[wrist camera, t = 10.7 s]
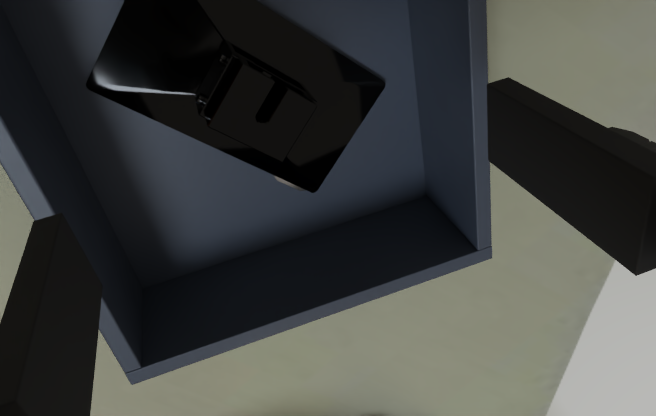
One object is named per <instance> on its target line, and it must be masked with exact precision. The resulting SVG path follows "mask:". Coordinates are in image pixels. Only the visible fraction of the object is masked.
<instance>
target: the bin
mask: <svg viewBox="0 0 656 416" xmlns="http://www.w3.org/2000/svg"><path fill="white" fill-rule="evenodd" d="M257 1H259V2H260V3H262V4H263V5H265V6H267V7H268V8H270V9H271V10H273V11H274V12H276V13H278V14H279V15H281V16H282V17H284V18H285V19H287V20H289V21H290V22H292V23H293V24H295V25H296V26H298V27H300V28H301V29H303V30H304V31H306V32H307V33H309V34H311V35H312V36H314V37H315V38H317V39H318V40H320V41H322V42H323V43H325V44H326V45H328V46H329V47H331V48H333V49H334V50H336V51H337V52H339V53H340V54H342V55H344V56H345V57H347V58H348V59H350V60H351V61H353V62H355V63H356V64H358V65H359V66H361V67H362V68H364V69H366V70H367V71H369V72H370V73H372V74H373V75H375V76H377V77H378V78H380V79H381V80H383V81H384V82H385V88H384V90H383V91H382V93H381V94H380V96H379V97H378V99H377V100H376V102H375V103H374V105H373V106H372V108H371V109H370V111H369V113H368V114H367V116H366V117H365V119H364V120H363V122H362V123H361V125H360V126H359V128H358V129H357V131H356V132H355V134H354V135H353V137H352V139H351V140H350V142H349V143H348V145H347V146H346V148H345V149H344V151H343V152H342V154H341V155H340V157H339V158H338V160H337V161H336V163H335V164H334V166H333V168H332V169H331V171H330V172H329V174H328V175H327V177H326V178H325V180H324V181H323V183H322V184H321V186H320V187H319V189H318V190H317V192H315V193H311V192H309V191H299V190H297V189H295V188H292V187H290V186H288V185H286V184H284V183H281V182H279V181H277V180H276V178H275V177H274V175H272V174H270V173H268V172H265V171H263V170H261V169H259V168H257V167H255V166H252V165H250V164H248V163H246V162H244V161H242V160H239V159H237V158H235V157H233V156H231V155H229V154H226V153H224V152H222V151H220V150H218V149H216V148H213V147H211V146H209V145H207V144H205V143H203V142H200V141H198V140H196V139H194V138H192V137H190V136H187V135H185V134H183V133H181V132H179V131H177V130H174V129H172V128H170V127H168V126H166V125H164V124H161V123H159V122H157V121H155V120H153V119H151V118H148V117H146V116H144V115H142V114H140V113H138V112H135V111H133V110H131V109H129V108H127V107H125V106H122V105H120V104H118V103H116V102H114V101H112V100H110V99H107V98H105V97H103V96H101V95H99V94H97V93H94V92H92V91H90V90H88V89H87V87H86V82H87V79H88V77H89V75H90V73H91V71H92V69H93V66H94V64H95V62H96V60H97V58H98V56H99V54H100V51H101V49H102V47H103V45H104V43H105V41H106V39H107V37H108V34H109V32H110V30H111V28H112V26H113V24H114V22H115V19H116V17H117V15H118V13H119V11H120V9H121V7H122V4H123V2H124V0H0V163H1V165H2V166H3V168H4V170H5V171H6V173H7V175H8V176H9V178H10V180H11V182H12V183H13V185H14V187H15V188H16V190H17V192H18V193H19V195H20V197H21V198H22V200H23V202H24V203H25V205H26V207H27V209H28V210H29V212H30V214H31V215H32V217H33V219H34V220H39V219H42V218H45V217H49V216H52V215H55V214H59V213H63V215H64V217H65V219H66V220H67V222H68V224H69V226H70V228H71V229H72V231H73V233H74V235H75V237H76V238H77V240H78V242H79V244H80V246H81V247H82V249H83V251H84V253H85V255H86V256H87V258H88V260H89V262H90V264H91V265H92V267H93V269H94V271H95V273H96V274H97V276H98V278H99V280H100V282H101V283H102V285H103V289H102V299H101V309H100V319H99V330H100V332H101V333H102V335H103V337H104V338H105V340H106V342H107V344H108V345H109V347H110V349H111V350H112V352H113V354H114V355H115V357H116V359H117V360H118V362H119V364H120V365H121V367H122V369H123V371H124V372H125V375H126V376H127V378H128V380H129V381H130V383H131V384H132V385H133V384H136V383H138V382H141V381H144V380H147V379H150V378H153V377H155V376H158V375H161V374H164V373H167V372H170V371H173V370H175V369H178V368H181V367H184V366H187V365H190V364H192V363H195V362H198V361H201V360H204V359H207V358H210V357H212V356H215V355H218V354H221V353H224V352H227V351H229V350H232V349H235V348H238V347H241V346H244V345H246V344H249V343H252V342H255V341H258V340H261V339H264V338H266V337H269V336H272V335H275V334H278V333H281V332H283V331H286V330H289V329H292V328H295V327H298V326H301V325H303V324H306V323H309V322H312V321H315V320H318V319H320V318H323V317H326V316H329V315H332V314H335V313H337V312H340V311H343V310H346V309H349V308H352V307H355V306H357V305H360V304H363V303H366V302H369V301H372V300H374V299H377V298H380V297H383V296H386V295H389V294H391V293H394V292H397V291H400V290H403V289H406V288H409V287H411V286H414V285H417V284H420V283H423V282H426V281H428V280H431V279H434V278H437V277H440V276H443V275H446V274H448V273H451V272H454V271H457V270H460V269H463V268H465V267H468V266H471V265H474V264H477V263H480V262H482V261H485V260H488V259H491V258H492V246H491V200H490V161H488V125H487V84H488V61H487V15H486V0H257Z"/></svg>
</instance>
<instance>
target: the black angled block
mask: <svg viewBox="0 0 656 416" xmlns="http://www.w3.org/2000/svg"><path fill="white" fill-rule="evenodd" d="M86 87H87V89H88V90H90V91H92V92H94V93H97V94H99V95H101V96H103V97H105V98H107V99H110V100H112V101H114V102H116V103H118V104H120V105H122V106H125V107H127V108H129V109H131V110H133V111H135V112H138V113H140V114H142V115H144V116H146V117H148V118H151V119H153V120H155V121H157V122H159V123H161V124H164V125H166V126H168V127H170V128H172V129H174V130H177V131H179V132H181V133H183V134H185V135H187V136H190V137H192V138H194V139H196V140H198V141H200V142H203V143H205V144H207V145H209V146H211V147H213V148H216V149H218V150H220V151H222V152H224V153H226V154H229V155H231V156H233V157H235V158H237V159H239V160H242V161H244V162H246V163H248V164H250V165H252V166H255V167H257V168H259V169H261V170H263V171H265V172H268V173H270V174H272V175H274V177H275V178H276V180H277V181H279V182H281V183H284V184H286V185H288V186H290V187H292V188H295V189H297V190H299V191H309V192H311V193H315V192H317V190H318V189H319V187H320V186H321V184H322V183H323V181H324V180H325V178H326V177H327V175H328V174H329V172H330V171H331V169H332V168H333V166H334V164H335V163H336V161H337V160H338V158H339V157H340V155H341V154H342V152H343V151H344V149H345V148H346V146H347V145H348V143H349V142H350V140H351V139H352V137H353V135H354V134H355V132H356V131H357V129H358V128H359V126H360V125H361V123H362V122H363V120H364V119H365V117H366V116H367V114H368V113H369V111H370V109H371V108H372V106H373V105H374V103H375V102H376V100H377V99H378V97H379V96H380V94H381V93H382V91H383V90H384V88H385V82H384V81H383V80H381V79H380V78H378V77H377V76H375V75H373V74H372V73H370V72H369V71H367V70H366V69H364V68H362V67H361V66H359V65H358V64H356V63H355V62H353V61H351V60H350V59H348V58H347V57H345V56H344V55H342V54H340V53H339V52H337V51H336V50H334V49H333V48H331V47H329V46H328V45H326V44H325V43H323V42H322V41H320V40H318V39H317V38H315V37H314V36H312V35H311V34H309V33H307V32H306V31H304V30H303V29H301V28H300V27H298V26H296V25H295V24H293V23H292V22H290V21H289V20H287V19H285V18H284V17H282V16H281V15H279V14H278V13H276V12H274V11H273V10H271V9H270V8H268V7H267V6H265V5H263V4H262V3H260V2H259V1H257V0H124V2H123V4H122V7H121V9H120V11H119V13H118V15H117V17H116V19H115V22H114V24H113V26H112V28H111V30H110V32H109V34H108V37H107V39H106V41H105V43H104V45H103V47H102V49H101V51H100V54H99V56H98V58H97V60H96V62H95V64H94V66H93V69H92V71H91V73H90V75H89V77H88V79H87V82H86Z"/></svg>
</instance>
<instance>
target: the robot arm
mask: <svg viewBox="0 0 656 416" xmlns="http://www.w3.org/2000/svg"><path fill="white" fill-rule="evenodd" d="M487 125H488V161H490V162H491V163H492V164H494V165H495V166H496V167H497V168H499V169H500V170H501V171H502V172H504V173H505V174H506V175H508V176H509V177H510V178H511V179H513V180H514V181H515V182H517V183H518V184H519V185H520V186H522V187H523V188H524V189H526V190H527V191H528V192H529V193H531V194H532V195H533V196H535V197H536V198H537V199H538V200H540V201H541V202H542V203H544V204H545V205H546V206H547V207H549V208H550V209H551V210H552V211H554V212H555V213H556V214H558V215H559V216H560V217H561V218H563V219H564V220H565V221H567V222H568V223H569V224H570V225H572V226H573V227H574V228H576V229H577V230H578V231H579V232H581V233H582V234H583V235H585V236H586V237H587V238H588V239H590V240H591V241H592V242H593V243H595V244H596V245H597V246H599V247H600V248H601V249H602V250H604V251H605V252H606V253H608V254H609V255H610V256H611V257H613V258H614V259H615V260H617V261H618V262H619V263H621V264H622V265H623V266H624V267H626V268H627V269H628V270H629V271H631V272H632V273H633V274H635V275H636V276H637V275H639V274H642V273H644V272H647V271H650V270H652V269H655V268H656V143H655V142H653V141H651V142H649V140H648V139H646V138H644V137H642V136H640V135H638V134H636V133H634V132H632V131H627V130H623V129H619V128H615V127H610V128H606V127H604V126H602V125H601V124H599V123H597V122H595V121H593V120H591V119H589V118H587V117H585V116H583V115H581V114H579V113H577V112H575V111H573V110H571V109H569V108H567V107H565V106H563V105H561V104H559V103H557V102H556V101H554V100H552V99H550V98H548V97H546V96H544V95H542V94H540V93H538V92H536V91H534V90H532V89H530V88H528V87H526V86H524V85H522V84H520V83H518V82H516V81H514V80H512V79H510V78H505V79H502V80H499V81H495V82H492V83H489V84H487ZM102 289H103V285H102V283H101V282H100V280H99V278H98V276H97V274H96V273H95V271H94V269H93V267H92V265H91V264H90V262H89V260H88V258H87V256H86V255H85V253H84V251H83V249H82V247H81V246H80V244H79V242H78V240H77V238H76V237H75V235H74V233H73V231H72V229H71V228H70V226H69V224H68V222H67V220H66V219H65V217H64V215H63V213H59V214H55V215H52V216H49V217H45V218H42V219H39V220H35V221H34V222H33V225H32V228H31V231H30V234H29V237H28V240H27V243H26V246H25V250H24V253H23V256H22V259H21V262H20V265H19V268H18V271H17V274H16V277H15V280H14V283H13V286H12V289H11V292H10V295H9V298H8V301H7V305H6V308H5V311H4V314H3V317H2V320H1V323H0V416H90V410H91V400H92V390H93V380H94V370H95V360H96V350H97V340H98V330H99V319H100V309H101V299H102Z"/></svg>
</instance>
